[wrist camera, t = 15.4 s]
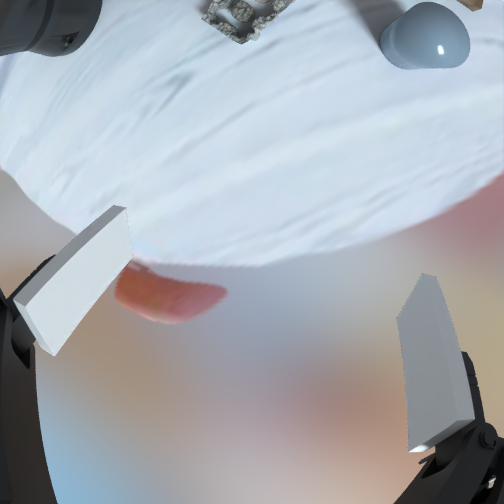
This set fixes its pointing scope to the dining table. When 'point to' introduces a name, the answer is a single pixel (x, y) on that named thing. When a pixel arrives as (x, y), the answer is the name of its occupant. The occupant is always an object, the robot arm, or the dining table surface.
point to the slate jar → (426, 38)
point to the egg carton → (243, 17)
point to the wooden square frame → (472, 4)
